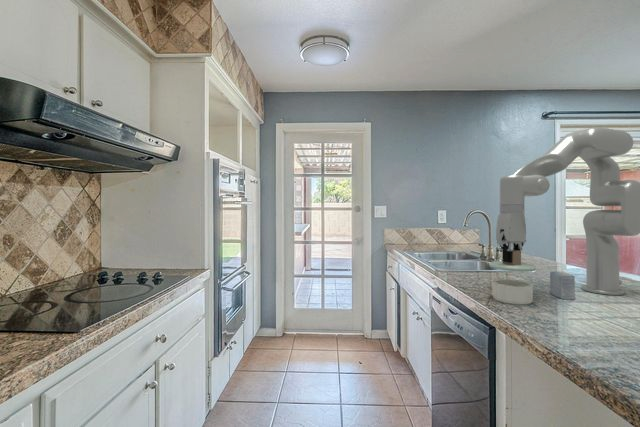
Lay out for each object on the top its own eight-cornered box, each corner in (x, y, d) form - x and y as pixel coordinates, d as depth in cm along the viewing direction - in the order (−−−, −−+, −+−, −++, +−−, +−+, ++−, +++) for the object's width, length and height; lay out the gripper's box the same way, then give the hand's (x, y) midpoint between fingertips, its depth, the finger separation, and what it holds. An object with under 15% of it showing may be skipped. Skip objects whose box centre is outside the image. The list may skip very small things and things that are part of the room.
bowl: (507, 293, 120) (507, 278, 120) (540, 302, 109) (540, 284, 109) (485, 297, 116) (485, 281, 116) (517, 306, 105) (517, 288, 105)
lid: (506, 263, 122) (506, 247, 122) (544, 269, 109) (545, 251, 109) (480, 265, 116) (480, 249, 116) (517, 272, 103) (517, 253, 103)
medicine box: (575, 300, 112) (575, 275, 112) (561, 299, 113) (561, 275, 112) (563, 294, 119) (563, 271, 119) (549, 293, 120) (549, 271, 120)
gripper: (517, 210, 119) (517, 258, 119) (485, 210, 112) (485, 261, 113) (537, 210, 112) (537, 261, 112) (505, 210, 106) (505, 264, 106)
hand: (511, 261), depth 112 cm, fingers closed on lid, 4 cm apart
